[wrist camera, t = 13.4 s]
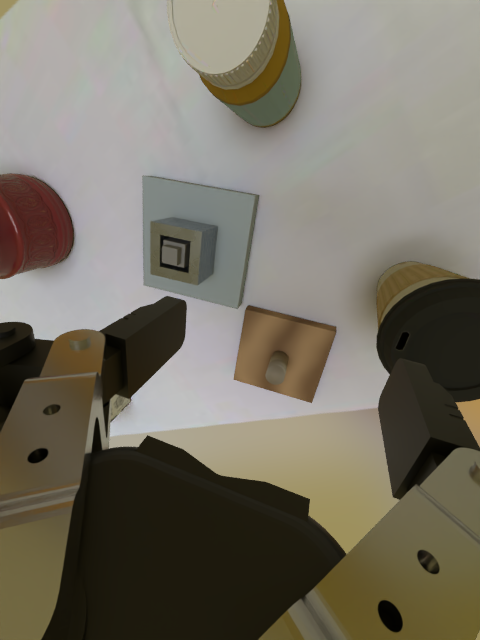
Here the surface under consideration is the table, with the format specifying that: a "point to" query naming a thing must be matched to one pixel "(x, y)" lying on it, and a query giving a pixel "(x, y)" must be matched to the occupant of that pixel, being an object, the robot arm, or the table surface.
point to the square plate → (195, 205)
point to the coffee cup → (431, 325)
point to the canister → (31, 225)
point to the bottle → (240, 54)
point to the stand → (282, 352)
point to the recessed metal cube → (200, 249)
